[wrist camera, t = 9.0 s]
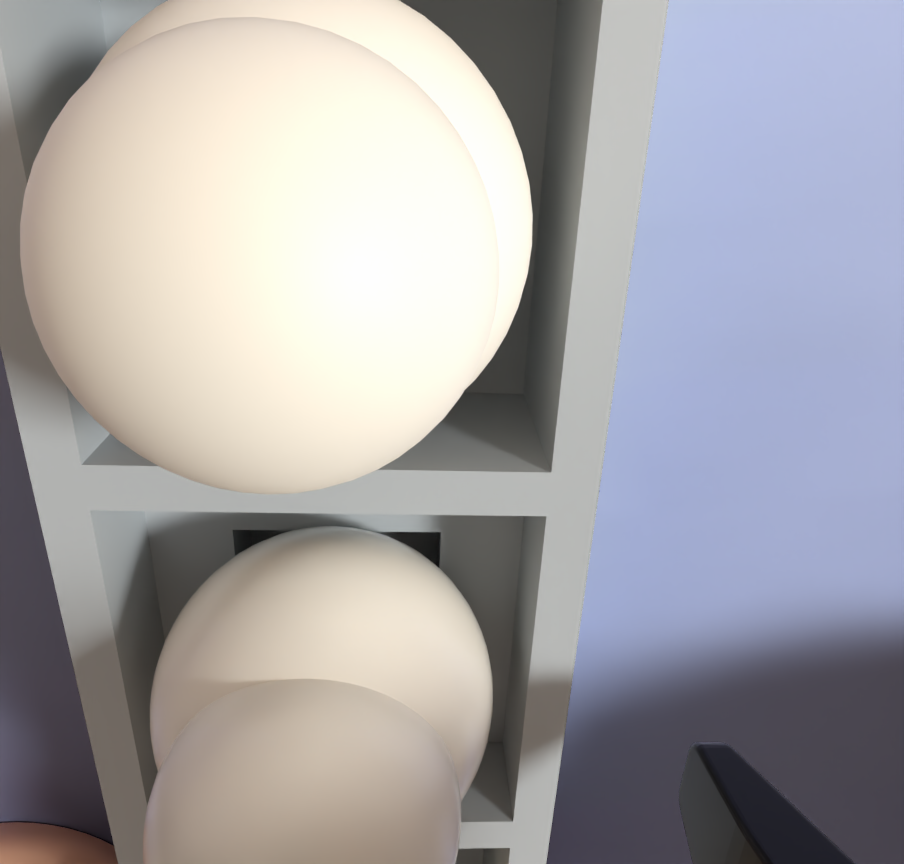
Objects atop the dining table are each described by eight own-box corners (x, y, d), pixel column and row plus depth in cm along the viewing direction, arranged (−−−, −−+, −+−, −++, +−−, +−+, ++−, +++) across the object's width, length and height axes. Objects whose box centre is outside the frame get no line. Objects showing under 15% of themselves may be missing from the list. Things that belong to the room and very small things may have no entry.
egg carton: (581, -57, 10) (1005, -453, 3) (481, 984, 20) (517, 1484, 13) (99, -84, 10) (-849, -620, 2) (243, 989, 20) (142, 1505, 13)
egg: (473, 691, 13) (504, 1103, 8) (217, 689, 13) (74, 1112, 7) (490, 471, 11) (550, 824, 6) (190, 464, 11) (-30, 824, 5)
